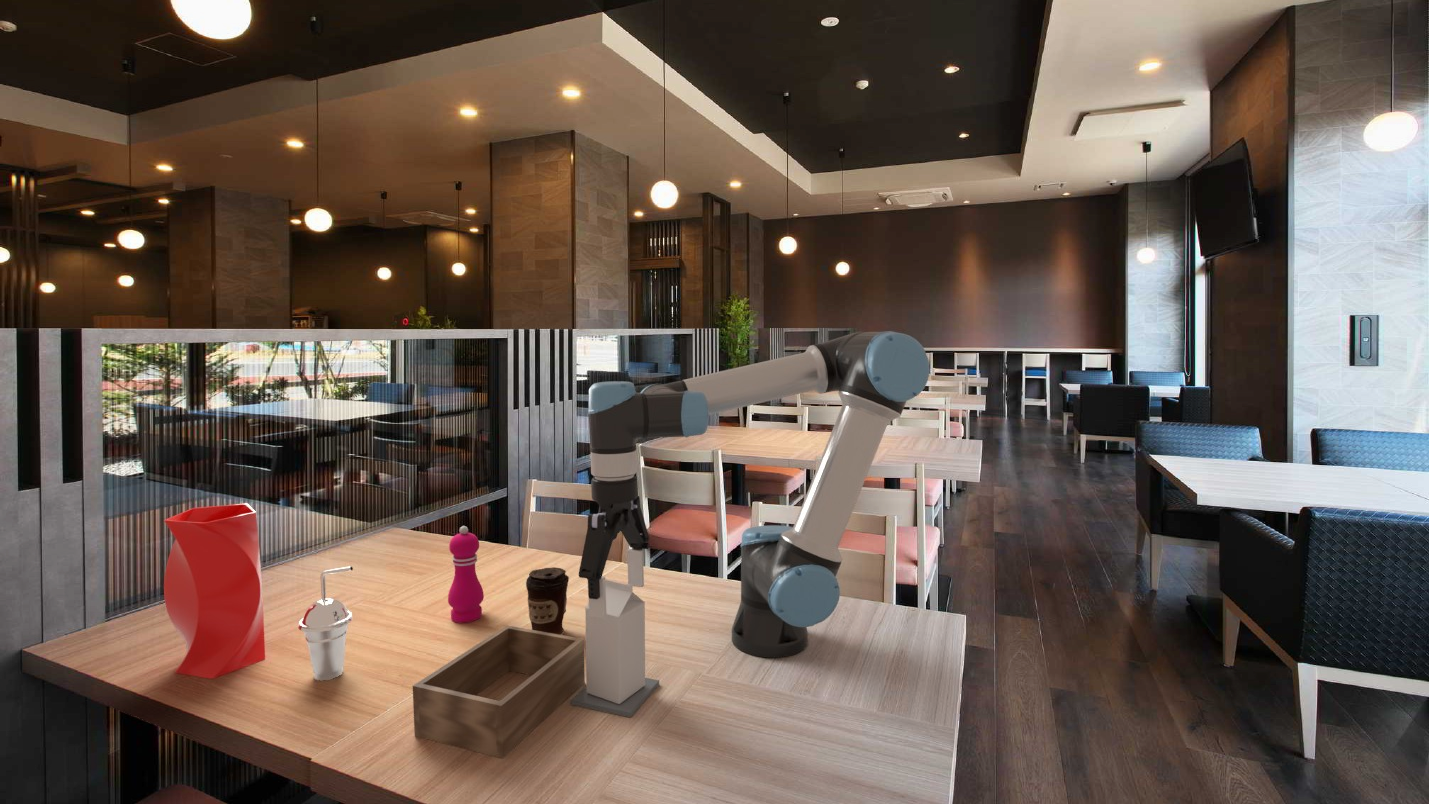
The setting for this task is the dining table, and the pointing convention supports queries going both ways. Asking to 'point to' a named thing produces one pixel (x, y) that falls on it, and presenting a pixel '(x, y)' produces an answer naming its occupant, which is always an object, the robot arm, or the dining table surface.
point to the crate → (502, 725)
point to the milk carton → (616, 645)
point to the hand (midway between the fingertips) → (618, 600)
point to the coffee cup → (547, 599)
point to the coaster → (623, 709)
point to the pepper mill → (465, 578)
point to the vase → (216, 589)
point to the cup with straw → (326, 632)
